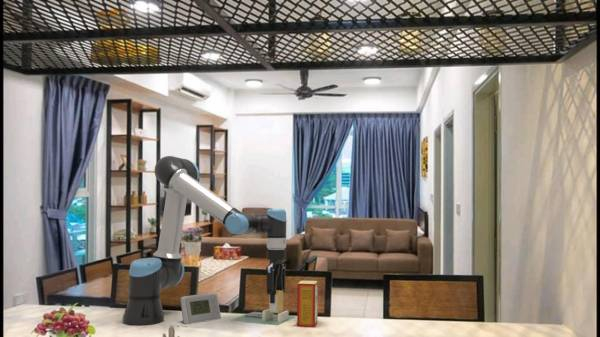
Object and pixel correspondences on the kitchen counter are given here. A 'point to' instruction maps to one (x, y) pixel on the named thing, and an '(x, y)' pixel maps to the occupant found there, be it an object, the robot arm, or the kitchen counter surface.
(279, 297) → the tan yellow block
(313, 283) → the baking soda box
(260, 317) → the board
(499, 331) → the kitchen counter surface
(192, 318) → the digital clock
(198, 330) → the kitchen counter surface
